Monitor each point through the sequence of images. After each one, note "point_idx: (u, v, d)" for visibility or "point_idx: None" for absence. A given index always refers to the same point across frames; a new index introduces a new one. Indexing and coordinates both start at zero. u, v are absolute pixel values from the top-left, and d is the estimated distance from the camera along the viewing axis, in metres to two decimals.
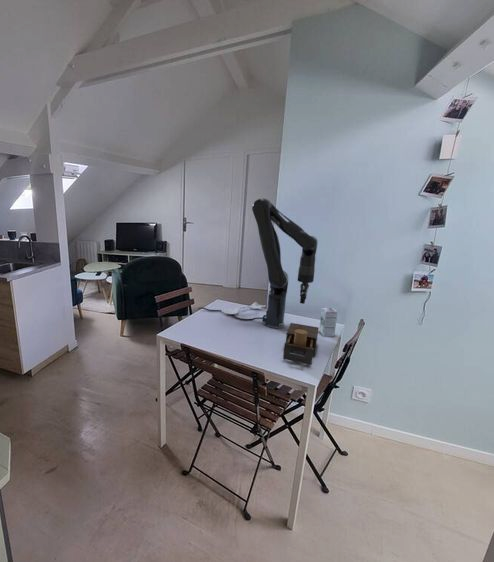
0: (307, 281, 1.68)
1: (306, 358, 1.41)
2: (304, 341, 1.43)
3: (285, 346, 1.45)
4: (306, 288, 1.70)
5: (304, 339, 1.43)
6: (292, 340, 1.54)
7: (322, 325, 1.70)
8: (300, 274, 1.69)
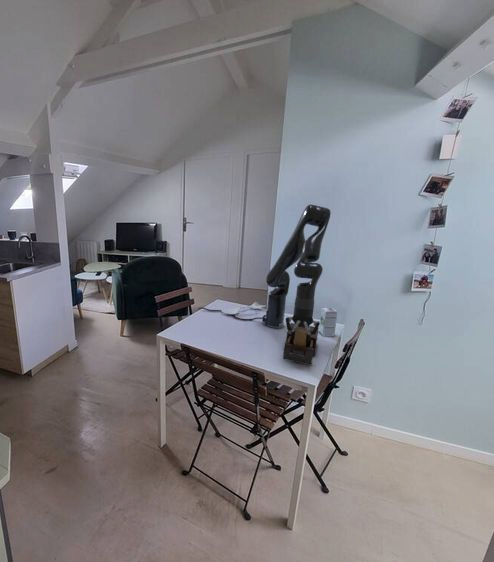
0: (294, 313, 1.43)
1: (306, 358, 1.41)
2: (304, 341, 1.43)
3: (285, 346, 1.45)
4: (295, 322, 1.44)
5: (304, 339, 1.43)
6: (292, 340, 1.54)
7: (322, 325, 1.70)
8: None
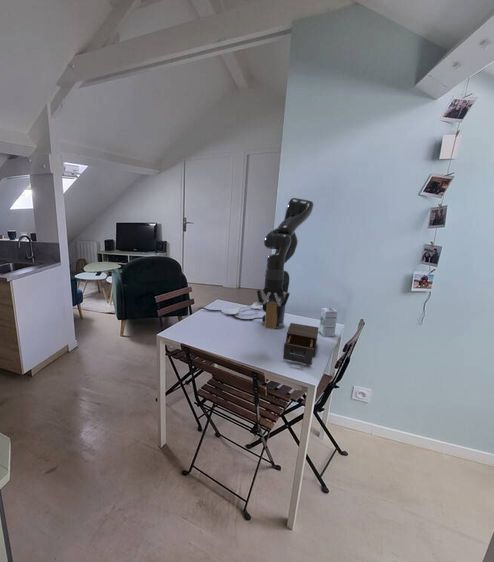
0: None
1: (306, 358, 1.41)
2: (275, 312, 1.45)
3: (285, 346, 1.45)
4: (266, 294, 1.45)
5: (275, 310, 1.44)
6: (292, 340, 1.54)
7: (322, 325, 1.70)
8: None
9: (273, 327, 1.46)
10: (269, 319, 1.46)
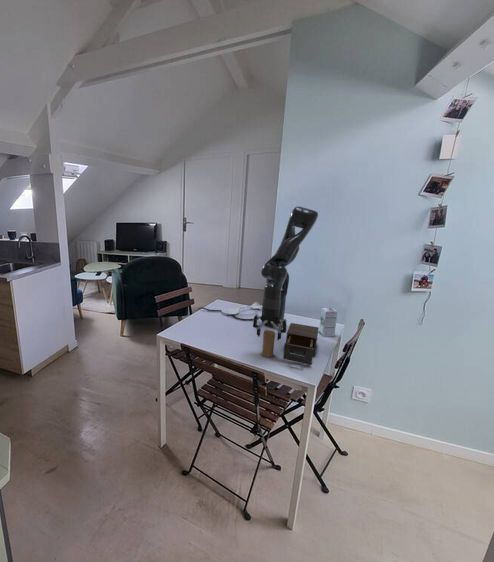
0: None
1: (306, 358, 1.41)
2: (272, 341, 1.48)
3: (285, 346, 1.45)
4: (263, 321, 1.49)
5: (272, 339, 1.48)
6: (292, 340, 1.54)
7: (322, 325, 1.70)
8: None
9: (270, 355, 1.50)
10: (266, 347, 1.50)
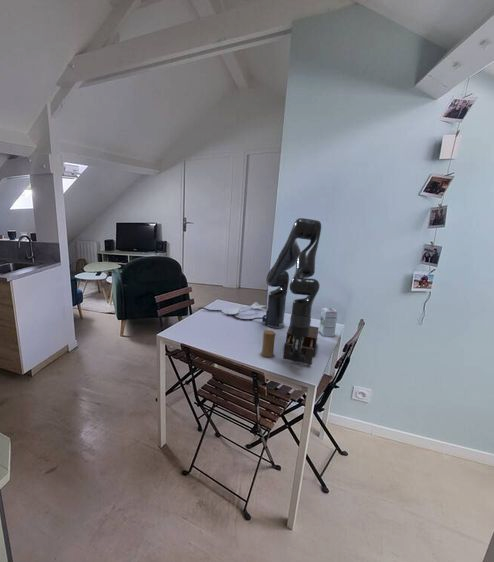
0: (301, 335, 1.31)
1: (306, 358, 1.41)
2: (272, 341, 1.48)
3: (285, 346, 1.45)
4: (300, 344, 1.34)
5: (272, 339, 1.48)
6: (292, 340, 1.54)
7: (322, 325, 1.70)
8: (292, 325, 1.33)
9: (270, 355, 1.50)
10: (266, 347, 1.50)
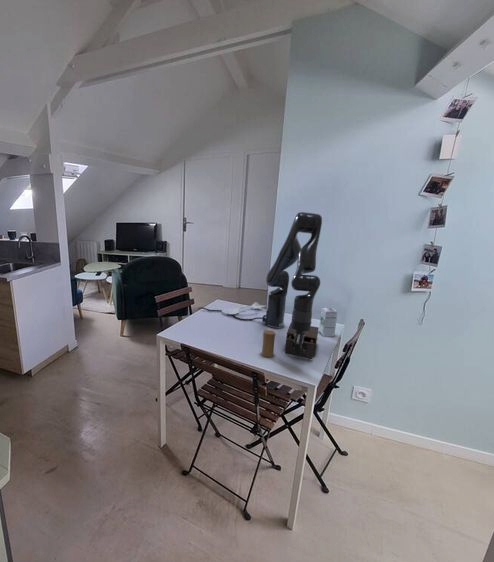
0: (302, 330, 1.36)
1: (307, 353, 1.45)
2: (272, 341, 1.48)
3: (287, 341, 1.49)
4: None
5: (272, 339, 1.48)
6: (293, 336, 1.59)
7: (322, 325, 1.70)
8: (294, 320, 1.37)
9: (270, 355, 1.50)
10: (266, 347, 1.50)
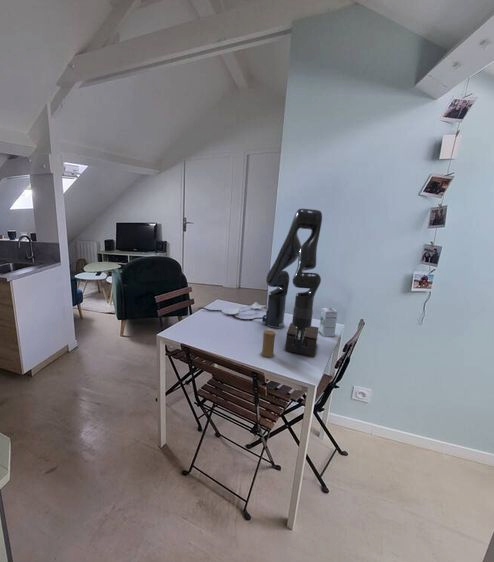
0: (303, 326, 1.39)
1: (308, 349, 1.49)
2: (272, 341, 1.48)
3: (288, 338, 1.53)
4: None
5: (272, 339, 1.48)
6: None
7: (322, 325, 1.70)
8: (295, 317, 1.41)
9: (270, 355, 1.50)
10: (266, 347, 1.50)
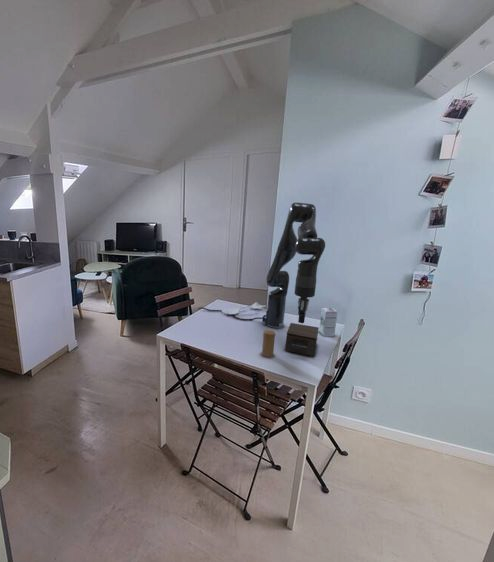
0: (307, 295, 1.30)
1: (308, 349, 1.49)
2: (272, 341, 1.48)
3: (288, 338, 1.53)
4: None
5: (272, 339, 1.48)
6: None
7: (322, 325, 1.70)
8: (298, 286, 1.32)
9: (270, 355, 1.50)
10: (266, 347, 1.50)
